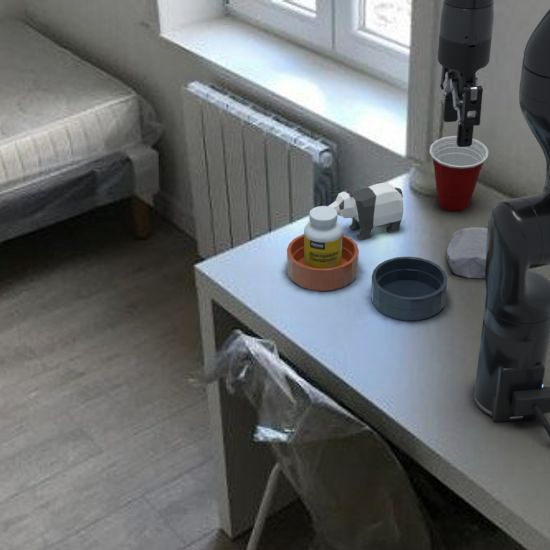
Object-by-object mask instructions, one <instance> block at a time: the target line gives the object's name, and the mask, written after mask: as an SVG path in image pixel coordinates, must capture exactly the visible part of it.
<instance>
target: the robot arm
mask: <svg viewBox="0 0 550 550" xmlns="http://www.w3.org/2000/svg"><path fill="white" fill-rule="evenodd" d="M442 1H443V2H442V6H441V12H440V17H439V18H440V20H439V33H438V46H437V47H438V48H437V62H438V64H439V65H440V66H441V77H440V84H439V87H440V89H441V91H442V96H443V97H442V98H443V99H444V100H443V102H444V103H443V110H442V111H443V113H442V119H443V121H444V122H445V123H455V122H457V131H456V136H457V141H456V143H457V145H458V147H469V146H471V145H472V139H474V138H473V137H474V136H473V135H474V127H475V126H476V127H477V126H480V125H481V114H482V105H483V104H482V103H483V92H484V88H483V86H482V85H479V79H478V76H477V74H476V73H477V72H478V71H480V70H481V69H484V68H485V67H487V66H488V64H489V63H490V58H491V50H492V39H493V28H494V20H495V14H494V13H495V11H494V4H495V3H494V2H495V0H442ZM518 104H519V108H520V110H521V114H522V116H523V118H524V120H525V122H526V124H527V125H528V128H529V130H530V131H531V133H532V134H533V136H534V138H535V140H536V141H537V143H538V144H539V146H540V148H541V150H542V152H543V155H544V158H545V163H546V164H545V165H546V167H545V168H546V170H545V171H546V174H545V181H544V187H543V189H542V191H541V192H540V193H536V194H532V195H526V196H521V197H515V198H511V199H510V198H509V199H505V200H501V201H499V202H498V203H496V204H494V206H493V208H492V209H491V211H490V213H489V217H488V222H487V249H486V264H485V278H484V281H485V291H486V292H485V303H484V311H483V319H482V327H481V333H480V343H479V351H478V359H477V367H476V377H475V386H474V389H473V400H474V402H475V404H476V406H477V407H478V408H479V410H481V411H482V412H483V413H485V414H487V415H488V416H490V417H491V418H492V420H493V422H495V423H498V422H499V423H500V422H510V421H522V420H533V419H537V418H538V419H539V421H540V423H541V424H542V426H543V428H544V429H545V432H546V433H547V435H548V437H549V438H550V423H549V422H548V420H547V418H546V416H545V415H544V414H550V386H544V379H545V373H546V364H547V359H548V354H549V347H550V279H549V278H548V277H547V276H545V275H543V274H542V273H539V272H537V271H535V270H531V269H535V268H540V267H546V266H550V8H549V9H548V10H547V11H546V13H545V14H544V15H543V16H542V18H541V19H540V20H539V22H538V23H537V24H536V26H535V28H534V30H533V31H532V32H531V34H530V36H529V38H528V40H527V42H526V45H525V47H524V50H523V56H522V63H521V71H520V81H519V90H518ZM469 113H470V115H468V114H469Z"/></svg>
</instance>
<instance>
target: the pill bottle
mask: <svg viewBox="0 0 550 550" xmlns="http://www.w3.org/2000/svg"><path fill="white" fill-rule="evenodd" d="M308 219H309V221H308V222H307V223H306V224H305V226H304V229H303V234H304V265H306V266H309V267H313V268H333V267H336V266H340V265H342V234H343V228H342V226H341V224H340V223H339V222H338V215H337V211H336V210H335V209H334V208H332V207H329V205H320V206H315V207H313V208H312V209H311V210H310V211H309V216H308Z"/></svg>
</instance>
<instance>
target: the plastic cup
mask: <svg viewBox="0 0 550 550" xmlns="http://www.w3.org/2000/svg"><path fill="white" fill-rule="evenodd" d="M456 141H457V135H450V136H443V137H441V138H439V139H436V140H434V142H433V143H432V144H430V147H429V154H430V156H431V158H432V163H433V168H434V179H435V186H436V191H437V192H436V193H437V201H438V205H439V207H440V208H442V209H443V210H445V211H447V212H453V213H457V212H462V211H465V210H467V209H468V208H469V206H470V205H471V201H472V198H473V194H474V192H475V189H476V185H477V181H478V179H479V175H480V173H481V170H482V168H483V165H484V163H485V161H486V160H487V159H488V157H489V149H488V147H487V146H486V144H484V143H483V142H481V141H480V140H478V139H475V138H472V145H471V146H469V147H458V145H457V143H456Z"/></svg>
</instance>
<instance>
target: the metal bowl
mask: <svg viewBox="0 0 550 550" xmlns="http://www.w3.org/2000/svg"><path fill="white" fill-rule="evenodd" d="M448 278H449V277H448V275H447V272H446V271H445V270H444V269H443V268H442V267H441V266H440V265H439V264H437V263H436V262H433V261H431V260H429V259H425V258H423V257H417V256H397V257H392V258H388V259H386V260H384V261H382V262H381V263H379V264H377V265H376V266H375V267H374V269H373V270H372V274H371V287H370V298H371V302H372V304H373V305H374V307H375V308H376V309H377V310H378V311H379V312H380V313H382V314H384V315H385V316H387V317H390V318H392V319H396V320H400V321H401V320H402V321H420V320H425V319H429V318H431V317H434V316H435V315H436V314H438V313H440V312H441V311H442V310H443V308H444V307H445V306H446V299H447V290H448V289H447V288H448Z"/></svg>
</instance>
